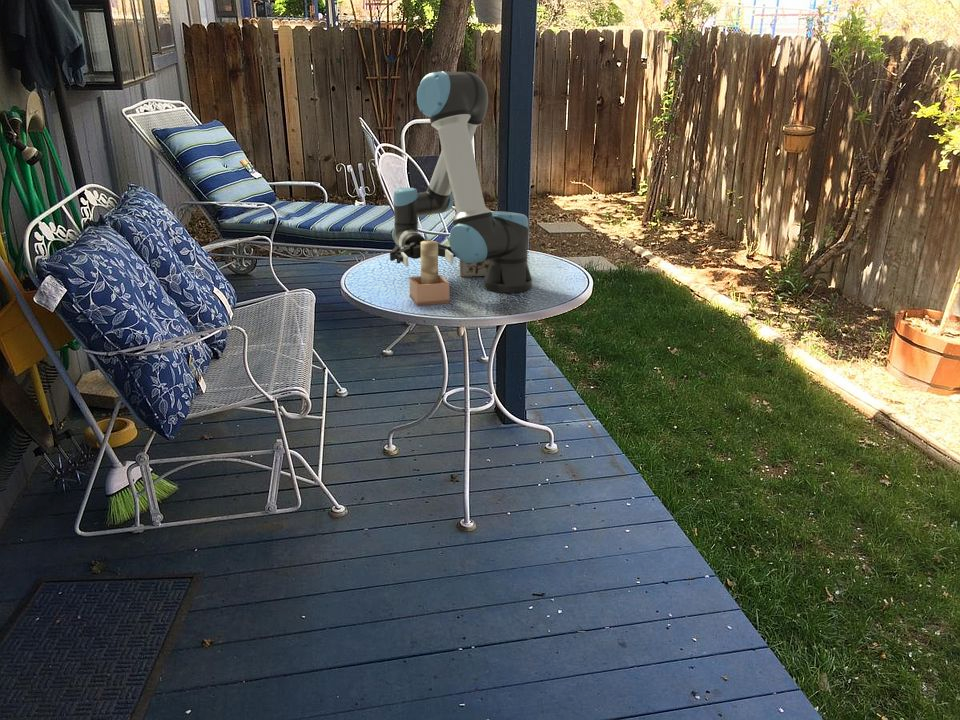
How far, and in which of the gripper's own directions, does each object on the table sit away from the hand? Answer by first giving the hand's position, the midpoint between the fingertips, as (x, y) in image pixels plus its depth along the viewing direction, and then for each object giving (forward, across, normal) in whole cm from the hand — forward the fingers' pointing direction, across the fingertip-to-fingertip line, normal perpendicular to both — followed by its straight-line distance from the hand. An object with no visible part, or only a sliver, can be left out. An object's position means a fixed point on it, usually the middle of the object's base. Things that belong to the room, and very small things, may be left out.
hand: (429, 260), depth 213 cm
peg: (-3, 0, -11) cm, 12 cm away
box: (-2, 0, -12) cm, 13 cm away
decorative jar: (-29, -23, -13) cm, 39 cm away
